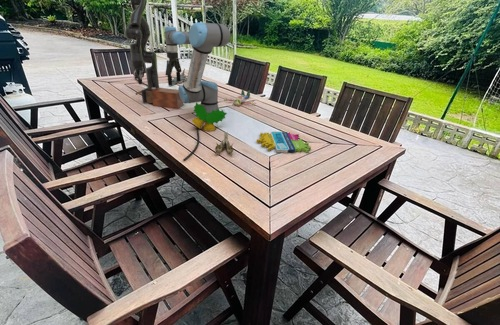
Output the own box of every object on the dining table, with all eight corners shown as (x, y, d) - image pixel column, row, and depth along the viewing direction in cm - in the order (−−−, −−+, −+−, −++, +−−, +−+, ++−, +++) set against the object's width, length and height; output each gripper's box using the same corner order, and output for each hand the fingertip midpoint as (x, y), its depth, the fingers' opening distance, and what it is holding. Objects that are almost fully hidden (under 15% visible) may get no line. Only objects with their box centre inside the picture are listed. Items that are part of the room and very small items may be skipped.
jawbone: (234, 135, 144) (233, 125, 135) (233, 160, 138) (232, 151, 129) (217, 135, 144) (216, 125, 135) (216, 160, 138) (214, 150, 129)
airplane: (159, 78, 275) (158, 68, 270) (189, 77, 288) (188, 67, 283) (167, 88, 246) (166, 77, 241) (199, 86, 260) (199, 75, 254)
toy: (261, 91, 228) (254, 99, 202) (261, 99, 231) (253, 108, 205) (231, 87, 233) (220, 95, 207) (230, 95, 236) (219, 104, 210)
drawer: (135, 102, 199) (133, 89, 194) (142, 98, 207) (140, 86, 202) (165, 105, 195) (164, 93, 191) (171, 102, 204) (170, 90, 199)
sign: (313, 150, 142) (258, 149, 139) (312, 153, 143) (258, 152, 140) (301, 132, 164) (254, 130, 161) (301, 134, 165) (254, 133, 162)
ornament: (218, 133, 171) (224, 110, 169) (221, 134, 163) (227, 111, 161) (186, 125, 162) (192, 101, 160) (189, 126, 155) (195, 101, 153)
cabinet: (153, 105, 197) (151, 90, 191) (160, 102, 206) (158, 87, 200) (177, 108, 194) (176, 93, 188) (183, 105, 203) (182, 90, 197)
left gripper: (137, 58, 194) (140, 81, 202) (126, 60, 183) (130, 85, 191) (146, 58, 193) (149, 82, 201) (136, 61, 182) (140, 86, 190)
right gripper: (175, 49, 191) (177, 79, 202) (158, 53, 170) (161, 86, 180) (184, 50, 190) (186, 80, 201) (168, 54, 169) (171, 87, 179)
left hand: (140, 84), depth 196 cm, fingers closed
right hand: (174, 83), depth 191 cm, fingers open, 13 cm apart
